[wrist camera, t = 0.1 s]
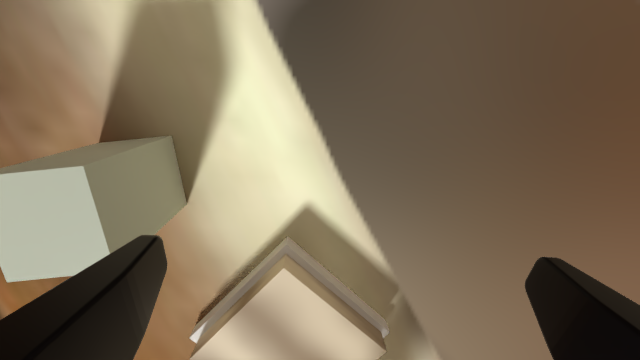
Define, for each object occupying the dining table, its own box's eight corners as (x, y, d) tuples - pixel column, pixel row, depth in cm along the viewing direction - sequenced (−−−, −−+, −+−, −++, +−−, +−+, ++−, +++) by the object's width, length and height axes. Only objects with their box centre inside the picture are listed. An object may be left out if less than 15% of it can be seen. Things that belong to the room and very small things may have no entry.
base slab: (294, 390, 29) (293, 412, 27) (197, 320, 27) (189, 338, 25) (384, 315, 27) (389, 332, 26) (288, 232, 25) (286, 244, 23)
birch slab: (294, 405, 27) (293, 429, 25) (198, 338, 25) (189, 359, 23) (381, 331, 25) (386, 351, 24) (285, 253, 23) (283, 267, 21)
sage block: (187, 204, 24) (115, 271, 15) (118, 211, 24) (7, 282, 15) (171, 135, 22) (83, 166, 14) (98, 142, 22) (-37, 177, 14)
